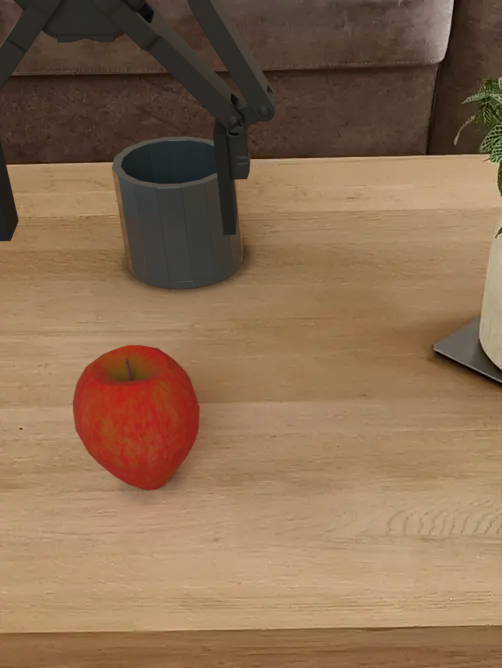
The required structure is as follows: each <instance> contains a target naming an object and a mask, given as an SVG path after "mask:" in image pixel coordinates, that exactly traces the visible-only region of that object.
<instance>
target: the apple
mask: <svg viewBox="0 0 502 668" xmlns="http://www.w3.org/2000/svg"><path fill="white" fill-rule="evenodd" d="M200 409H201V408H200V403H199V400H198V399H197V395H196V392H195V389H194V385H193V382H192V380H191V377H190V375H189V374H188V373H187V371H186V370H185V369H184V368H183V367H182V365H180V363H179V362H178V361H177V360H176V359H174V358H173V357H172V356H170V355H169V354H167V353H166V352H164V351H163V350H161V349H160V348H158V347H153V346H148V345H143V344H142V345H141V344H127V345H124V346H123V345H122V346H120V347H117V348H115V349H112V350H109V351H107V352H105V353H102V354H101V355H100V356H99V357H97V358H95V360H93V361H91V363H89V364H88V365H86V366H85V367H84V369H83V371H82V373H81V374H80V376H79V378H78V379H77V381H76V385H75V388H74V395H73V399H72V413H73V422H74V429H75V432H76V434H77V435H78V437H79V439H80V441H81V443H82V444H83V446H84V448H85V450H86V452H87V453H88V454H89V456H91V457H92V459H93V460H95V461H96V463H97V464H98V465H100V466H101V467H102V468H104V469H105V470H106V471H107V472H108V473H110V475H112V476H113V477H115V478H117V479H118V480H120V481H122V482H123V483H125V484H127V485H129V486H132V487H134V488H137V489H140V490H145V491H155V490H159V489H160V488H161V487H163V486H165V485H166V484H167V483H168V481H169V480H170V479H171V478H172V477H173V476H174V474H176V472H177V471H178V469H179V468H180V466H181V465H182V464H183V462H184V461H185V460H186V459H187V457H188V455H189V454H190V452H191V451H192V449H193V447H194V445H195V441H196V439H197V437H198V434H199V429H200Z"/></svg>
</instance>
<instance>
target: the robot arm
mask: <svg viewBox="0 0 502 668" xmlns="http://www.w3.org/2000/svg"><path fill="white" fill-rule="evenodd" d="M12 1H13V2H14V3H15V4H16V5H17V6H18V7H19V9H20V10H22V12H21V13H20V14H19V16H18V18H17V19H16V21H15V23H14V24H13V25H12V27H11V29H10V30H9V32H8V33H7V35H6V36H5V38H4V39H3V41H2V42H1V44H0V92H1V91H2V90H3V88H4V87H5V85H6V83H7V82H8V81H9V80H10V77H12V75H13V74H14V71H15V70H16V69H17V67H18V66H19V64H20V63H21V61H22V60H23V58H24V57H25V55H26V54H27V52H28V51H29V50H30V48H31V47H32V45H33V44H34V42H35V41H36V40H37V38H38V36H39V35H40V33H41V32H42V33H43V34H45V35H46V36H48V37H50V38H53V39H55V40H56V42H57V43H58V44H60V43H61V44H62V43H74V42H78V41H82V40H85V39H86V40H90V41H95V42H99V43H115V42H116V39H118V38H120V37H122V36H124V35H126V36H127V37H129V39H130V40H131V41H133V42H134V44H135V45H136V46H138V48H140V49H141V50H142V51H145V52H147V53H148V54H149V55H150V56H152V58H154V59H155V60H156V61H157V63H159V64H160V65H161V66H162V68H164V70H166V71H167V72H168V73H169V74H170V75H171V77H173V78H174V80H176V81H177V82H178V83H179V84H180V85H181V86H182V87H183V88H184V89H185V90H186V91H187V92H188V93H189V94H190V95H191V96H192V97H194V99H195V100H197V101H198V103H200V105H202V107H203V108H204V109H206V111H207V112H209V114H210V115H212V116H213V117H214V124H213V133H212V140H213V141H214V151H215V160H216V169H217V179H218V188H219V197H220V207H221V216H222V225H223V235H236V226H237V205H236V195H235V185H234V180H237V181H240V180H248V178H249V175H250V172H251V154H250V153H251V152H250V143H249V141H250V140H249V131H248V129H250V127H251V126H252V125H253V124H256V123H258V122H265V123H266V122H270V121H271V120H272V119H273V118H274V117H275V115H276V113H275V112H276V93H275V91H274V89H273V88H272V85H271V84H270V82H269V81H268V79H267V77H266V75H265V74H264V72H263V71H262V69H261V67H260V65H259V64H258V62H257V60H256V58H255V57H254V55H253V54H252V52H251V51H250V49H249V47H248V45H247V44H246V42H245V40H244V39H243V37H242V35H241V33H240V32H239V30H238V27H236V24H235V23H234V21H233V19H232V18H231V17H230V15H229V13H228V12H227V9H226V8H225V7H224V5H223V3H222V1H221V0H186V1H187V4H188V6H189V8H190V9H189V10H190V11H191V13H192V14H193V17H194V18H195V20H196V21H197V23H198V25H199V26H200V28H201V30H202V32H203V33H204V34H205V36H206V39H208V41H209V43H210V45H211V46H212V48H213V50H214V51H215V53H216V54H217V56H218V58H219V59H220V61H221V63H222V64H223V66H224V68H225V69H226V71H227V72H228V74H229V76H230V77H231V79H232V81H233V82H234V84H235V85H236V87H237V89H238V90H239V92H240V93H241V95H242V97H240V96H239V95H238V94H237V93H236V91H234V90H233V88H231V87H230V86H229V85H228V84H227V83H226V81H224V80H223V79H222V77H221V76H219V74H218V73H216V72H215V70H213V68H212V67H211V66H209V64H208V63H207V62H206V61H205V60H204V59H203V58H202V57H201V56H200V55H199V54H198V53H197V52H196V51H195V50H194V49H193V48H192V47H191V46H190V45H189V44H188V43H187V42H186V41H185V40H184V39H183V38H182V37H181V36H180V35H179V34H178V33H177V32H176V31H175V30H174V29H173V28H172V27H171V25H169V23H167V21H166V20H165V18H164V15H162V14H161V12H160V11H159V10H158V9H157V7H155V6H154V5H153V4H152V3H151V2H150V1H149V0H12ZM4 153H5V152H4V149H3V144H2V139H1V138H0V242H11V241H12V239H13V237H14V234H15V231H16V229H17V226H18V224H19V221H20V218H19V215H18V210H17V206H16V201H15V196H14V194H13V189H12V184H11V179H10V175H9V171H8V165H7V162H6V158H5V154H4Z"/></svg>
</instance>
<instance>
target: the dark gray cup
mask: <svg viewBox="0 0 502 668" xmlns="http://www.w3.org/2000/svg"><path fill="white" fill-rule="evenodd" d="M111 173H112V178H113V184H114V190H115V196H116V197H115V198H116V203H117V210H118V216H119V222H120V227H121V234H122V241H123V246H124V252H125V258H126V261H127V264H128V270H129V271H130V273H131V274H132V276H134V277H135V278H136V279H137V280H139V281H140V282H142V283H144V284H146V285H150V286H153V287H158V288H161V289H170V290H171V289H172V290H187V289H198V288H203V287H207V286H211V285H213V284H217V283H219V282H222V281H224V280H226V279H227V278H230V277H231V276H232V275H234V274H235V273H236V272H237V271H238V270H239V269H240V268H241V266H242V264H243V261H244V242H243V233H242V232H243V231H242V230H243V229H242V220H241V209H240V199H239V198H240V197H239V187H238V180H234V185H235V195H236V205H237V226H236V235H223V225H222V216H221V207H220V197H219V188H218V179H217V169H216V160H215V151H214V141H213V139H209V138H208V139H207V138H203V137H202V138H201V137H194V136H164V137H159V138H154V139H147V140H143V141H140V142H138V143H135V144H133V145H130V146H128V147H125V148H124V149H123V150H121V151H120V152H119V153H118V154H117V155H115V156H114V158H113V161H112V165H111Z"/></svg>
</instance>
